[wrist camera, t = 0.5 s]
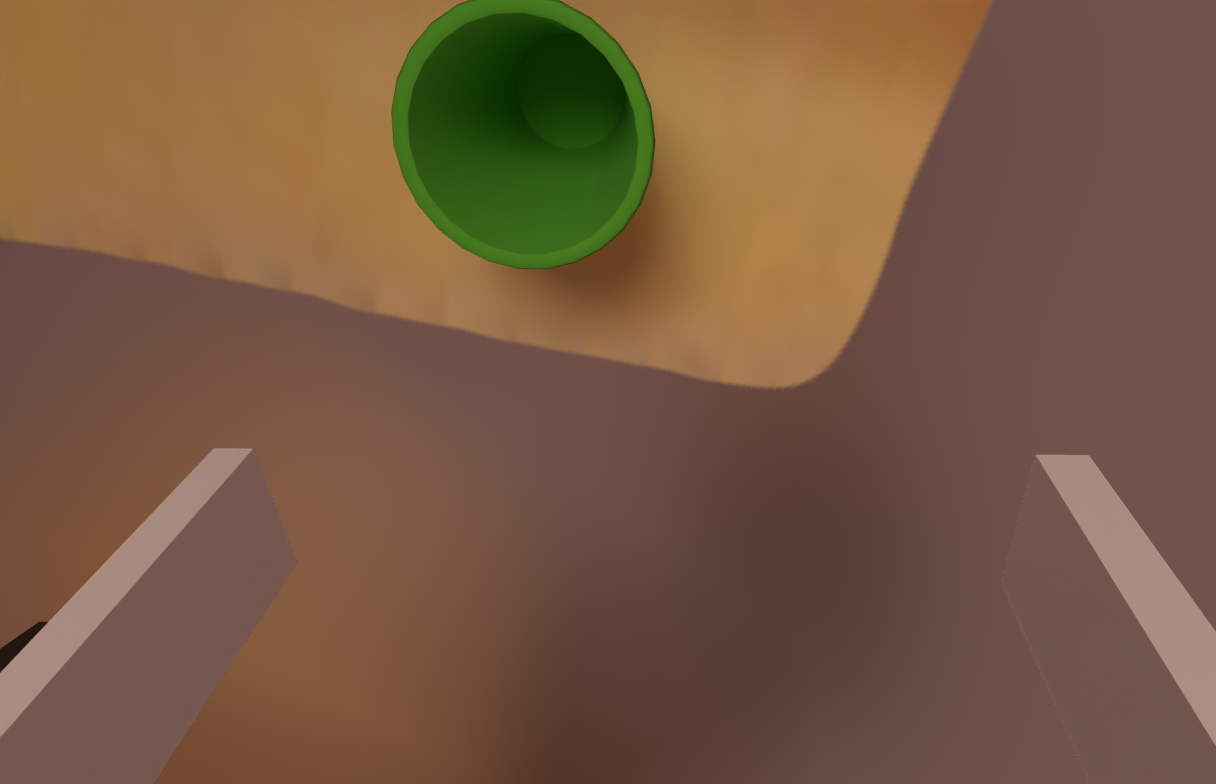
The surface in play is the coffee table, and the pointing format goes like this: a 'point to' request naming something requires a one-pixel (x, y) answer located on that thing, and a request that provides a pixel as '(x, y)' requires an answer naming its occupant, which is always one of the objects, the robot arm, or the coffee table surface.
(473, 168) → the cup
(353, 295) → the coffee table surface
